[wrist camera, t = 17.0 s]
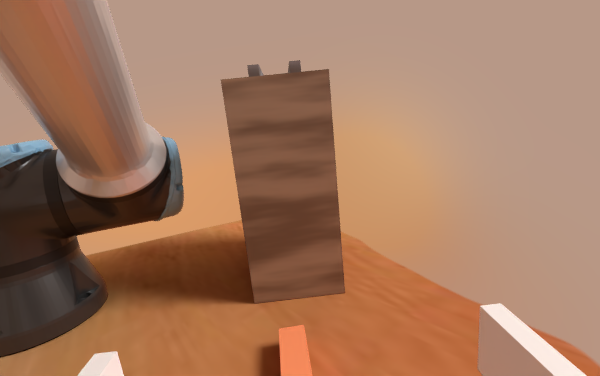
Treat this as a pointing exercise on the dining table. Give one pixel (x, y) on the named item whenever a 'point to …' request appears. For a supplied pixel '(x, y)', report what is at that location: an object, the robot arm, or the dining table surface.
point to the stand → (286, 181)
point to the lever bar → (294, 352)
